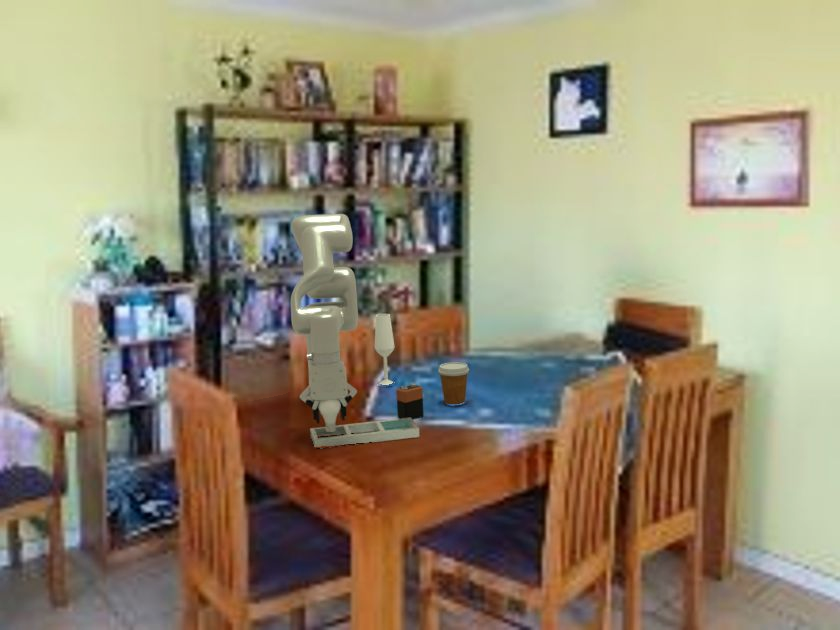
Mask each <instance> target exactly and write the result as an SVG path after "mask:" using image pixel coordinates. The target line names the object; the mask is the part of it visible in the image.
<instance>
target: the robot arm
mask: <svg viewBox="0 0 840 630" xmlns="http://www.w3.org/2000/svg"><path fill="white" fill-rule="evenodd" d="M349 219H350V218H349V217H348V215H347V214H344V213H329V214H328V213H327V214H309V215H308V214H307V215H300V216H296V217H294V219H293V220H292V221H291V232H292V235H293V238H294V240H295V242H296V244H297V246H298V248H299V251H300V253H301V256H302V257H301V258H302V267H303V271H302V272H303V275H302V276H301V278H300V279H299V280H298V282H297V283H296V285H295V286H294V288H293V291H292V292H291V296H290V316H291V317H290V318H291V327H292V329H293V331H294V333H296V334H298V335H305V342H306V351H307V354H306V361H307V364H308V365H307V366H308V385H307V387H306V388H305V389H304V390H303V391H302V392H301V393H300V395H299V399H300V400H301V401H303V402H304V403H305V404H306V405H307V406H309V408H311V409H312V419H313V421H314V420H315V422H316V424H320V412H319V410H318V403H319V401H322V400H332V399H339V400H340V402H341V409H340V411H339V413H340V414H339V415H340V419H341V421H343V422H344V421H345V418H346V417H347V406H348V404H349V403H350V402H351V400H352V399H353V398H354V397H355V396H356V395H357V393H358V390H357V389H356V388H355V387H354V386H352V385H351V384H350V383H348V380H347V379H348V378H347V373H346V367H345V363H344V361H343V360H342V359H341V351H340V334H339V333H340V332H350V331H354V330H356V329H357V327H358V326H359V325H358V324H359V310H358V309H359V307H358V296H357V282H356V281H357V280H356V275H355V273H354V271H353V270H352V269H351V268H350V267H347V266H336V267H335V266H334V257H333V256H334V255H333V254H336V253H337V254H338V253H348V252H350V251H351V250H352V248H353V243H354V241H353V237H354V236H353V231H352V227H351V222H350V220H349ZM306 295H307V297H308V298H310V299H313V300H314V299H315V300H317V299H318V300H319V299H320V300H321V299H322V300H323V299H337V298H338V299H342V301H339V300H338V301H325V302H314V303H313V302H312V303H310V304H307V305H305V306H301V302H302V300H303V297H304V296H306Z"/></svg>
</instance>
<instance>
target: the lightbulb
mask: <svg viewBox="0 0 840 630" xmlns="http://www.w3.org/2000/svg"><path fill="white" fill-rule="evenodd" d="M317 407H318V410H319V415H321V416H322V418H323V421H324V423H325V427H326V432H328V433H333V432H334V431H336V430H335V428H336V427H335V426H336V422H337V416H338V415H339V413H340V409H341V402H340V400H339V399H332V400H322V401H319V403H318V406H317Z"/></svg>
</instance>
